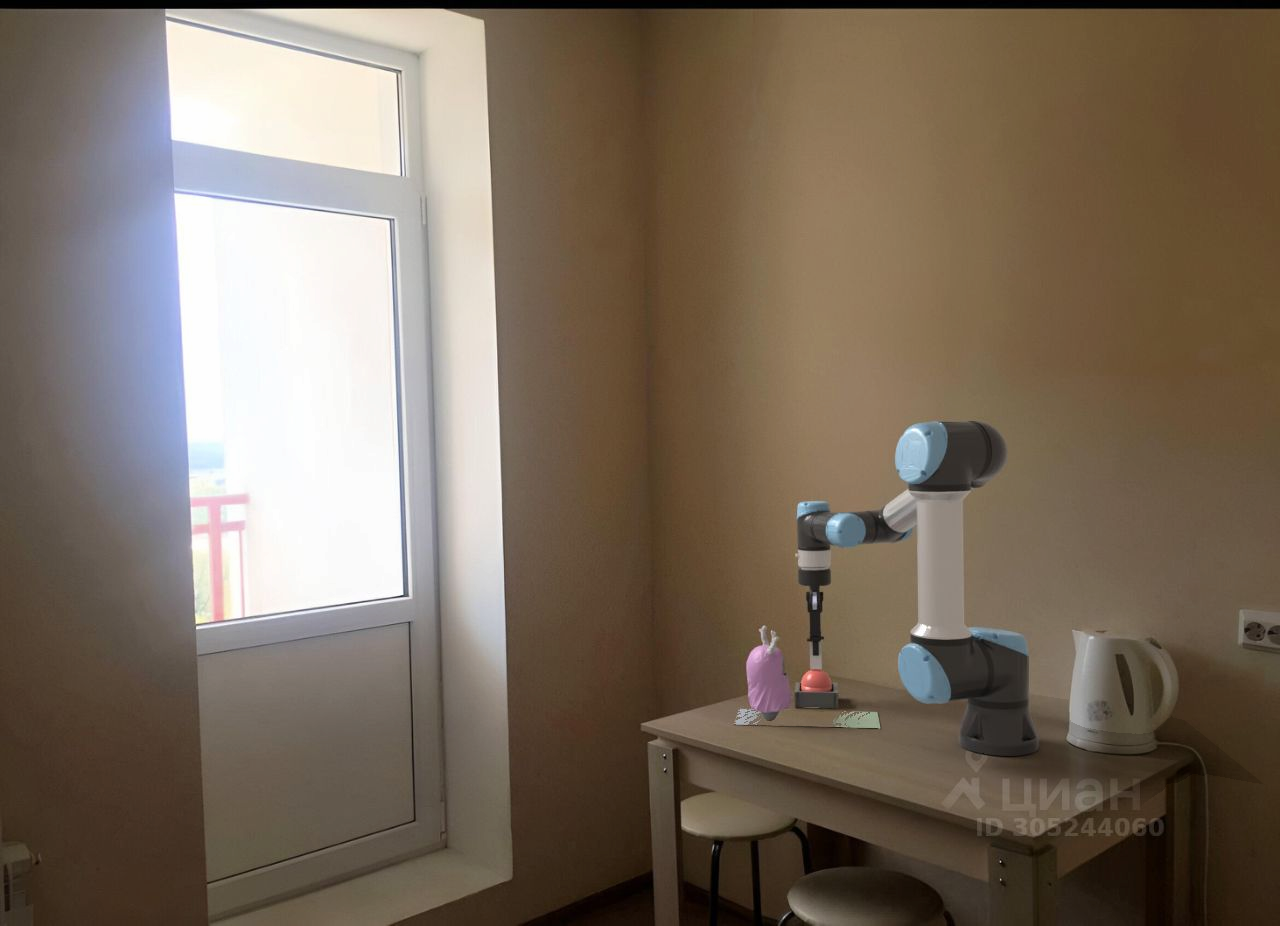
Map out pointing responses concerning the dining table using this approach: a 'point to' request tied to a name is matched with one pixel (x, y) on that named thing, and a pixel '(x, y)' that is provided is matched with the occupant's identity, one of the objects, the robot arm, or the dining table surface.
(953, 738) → the dining table surface
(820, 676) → the dome button
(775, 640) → the toy character
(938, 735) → the dining table surface
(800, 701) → the dome housing
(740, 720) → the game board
